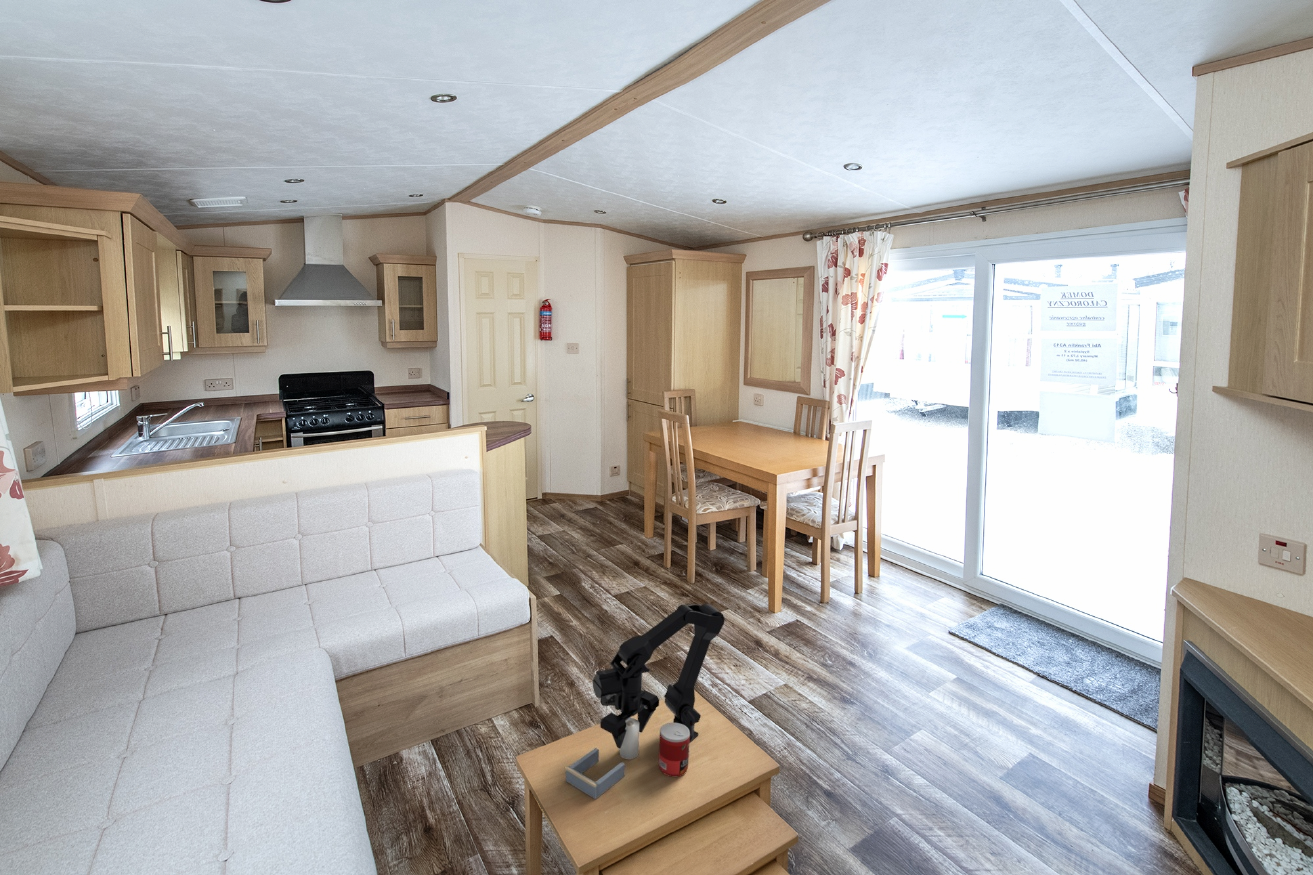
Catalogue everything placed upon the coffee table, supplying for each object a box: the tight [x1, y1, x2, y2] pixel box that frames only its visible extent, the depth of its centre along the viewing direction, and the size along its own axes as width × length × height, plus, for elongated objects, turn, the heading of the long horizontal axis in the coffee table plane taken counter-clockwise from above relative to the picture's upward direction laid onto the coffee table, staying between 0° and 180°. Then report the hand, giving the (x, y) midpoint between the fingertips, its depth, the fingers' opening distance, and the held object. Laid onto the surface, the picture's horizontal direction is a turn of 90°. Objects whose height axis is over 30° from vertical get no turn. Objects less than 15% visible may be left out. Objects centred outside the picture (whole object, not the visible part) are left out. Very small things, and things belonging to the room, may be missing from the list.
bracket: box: [564, 747, 626, 800], centre depth 176 cm, size 12×10×4 cm
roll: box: [619, 717, 640, 760], centre depth 186 cm, size 5×5×9 cm
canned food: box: [658, 722, 691, 777], centre depth 181 cm, size 8×8×11 cm
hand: (629, 739), depth 186 cm, fingers open, 9 cm apart
